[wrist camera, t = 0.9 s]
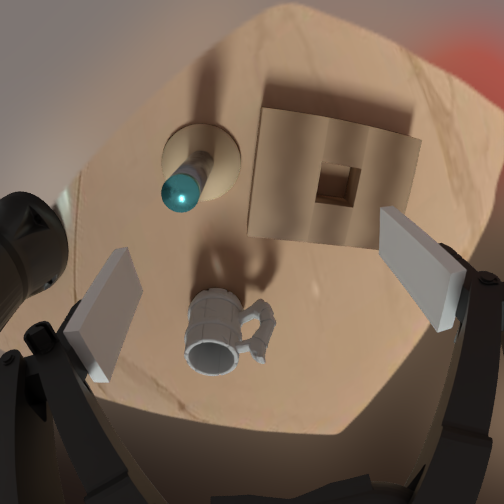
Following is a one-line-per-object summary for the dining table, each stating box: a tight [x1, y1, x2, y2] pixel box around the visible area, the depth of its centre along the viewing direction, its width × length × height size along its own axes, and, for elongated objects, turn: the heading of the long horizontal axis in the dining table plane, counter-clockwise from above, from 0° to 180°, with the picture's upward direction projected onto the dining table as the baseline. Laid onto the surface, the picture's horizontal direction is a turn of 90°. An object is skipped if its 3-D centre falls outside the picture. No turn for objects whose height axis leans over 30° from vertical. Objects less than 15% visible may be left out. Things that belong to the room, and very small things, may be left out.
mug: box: [184, 288, 276, 376], centre depth 38 cm, size 8×12×12 cm, turn 108°
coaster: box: [162, 124, 241, 201], centre depth 35 cm, size 9×9×1 cm
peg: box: [161, 150, 214, 212], centre depth 29 cm, size 3×3×12 cm
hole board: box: [247, 107, 422, 250], centre depth 34 cm, size 18×14×4 cm
